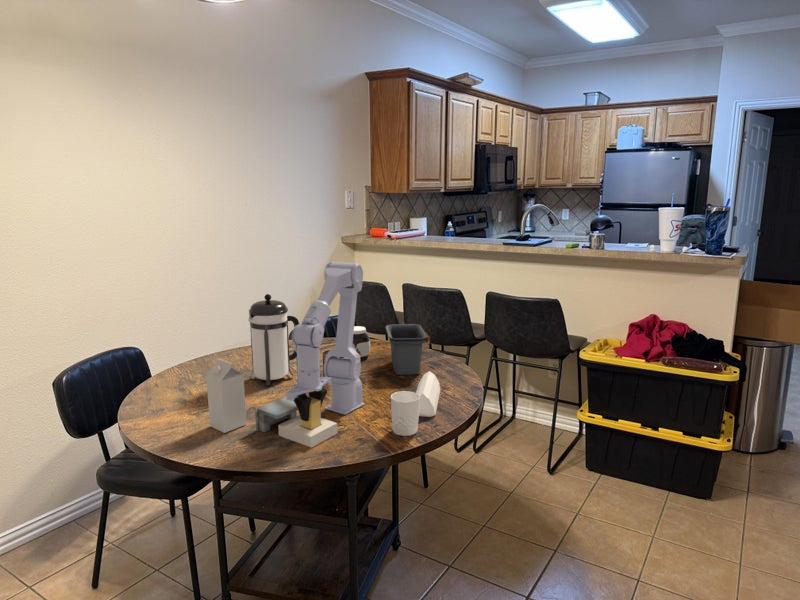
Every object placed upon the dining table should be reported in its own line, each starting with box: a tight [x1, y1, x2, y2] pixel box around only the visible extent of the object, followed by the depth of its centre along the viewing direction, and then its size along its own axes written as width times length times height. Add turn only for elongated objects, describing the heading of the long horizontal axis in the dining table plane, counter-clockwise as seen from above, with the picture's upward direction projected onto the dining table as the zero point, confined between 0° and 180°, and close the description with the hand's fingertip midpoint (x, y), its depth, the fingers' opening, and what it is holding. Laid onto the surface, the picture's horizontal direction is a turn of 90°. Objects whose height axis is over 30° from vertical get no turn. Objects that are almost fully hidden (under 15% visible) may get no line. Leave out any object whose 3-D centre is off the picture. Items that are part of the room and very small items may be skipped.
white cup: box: [390, 390, 420, 437], centre depth 147 cm, size 8×8×10 cm
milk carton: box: [205, 357, 247, 434], centre depth 148 cm, size 7×7×19 cm
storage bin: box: [385, 323, 431, 376], centre depth 198 cm, size 21×16×14 cm
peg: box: [302, 398, 322, 430], centre depth 143 cm, size 4×4×7 cm
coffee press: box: [248, 293, 300, 387], centre depth 185 cm, size 17×16×30 cm
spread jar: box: [344, 325, 371, 361], centre depth 209 cm, size 12×11×12 cm
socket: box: [278, 414, 338, 448], centre depth 145 cm, size 10×12×3 cm
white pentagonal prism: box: [415, 370, 441, 418], centre depth 166 cm, size 7×7×24 cm
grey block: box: [254, 396, 298, 433], centre depth 150 cm, size 13×9×7 cm
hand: (310, 417), depth 144 cm, fingers closed on peg, 3 cm apart
